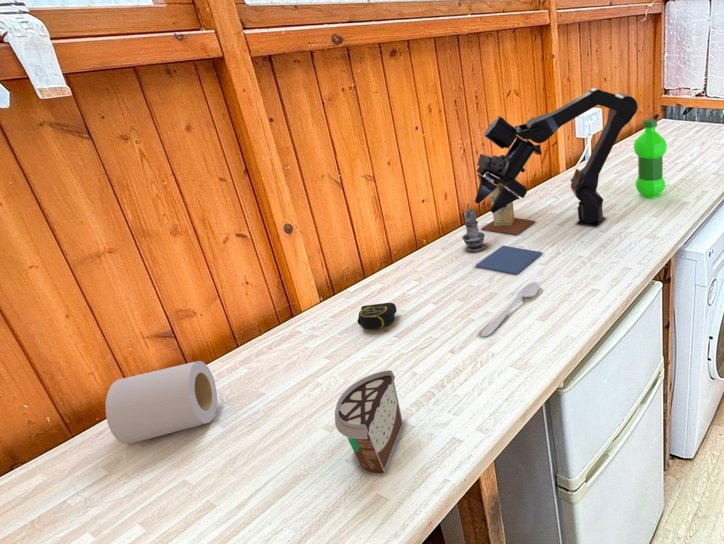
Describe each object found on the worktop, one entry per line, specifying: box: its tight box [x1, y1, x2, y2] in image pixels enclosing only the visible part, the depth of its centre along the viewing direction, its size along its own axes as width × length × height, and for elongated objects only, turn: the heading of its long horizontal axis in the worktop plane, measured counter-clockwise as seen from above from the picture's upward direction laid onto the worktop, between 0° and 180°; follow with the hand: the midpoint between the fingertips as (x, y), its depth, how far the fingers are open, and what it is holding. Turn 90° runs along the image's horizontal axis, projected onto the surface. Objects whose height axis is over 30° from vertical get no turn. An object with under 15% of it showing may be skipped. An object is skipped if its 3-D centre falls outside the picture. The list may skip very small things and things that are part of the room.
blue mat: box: [475, 245, 542, 276], centre depth 133 cm, size 12×12×1 cm
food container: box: [334, 369, 404, 474], centre depth 76 cm, size 12×6×10 cm, turn 5°
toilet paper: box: [105, 360, 218, 445], centre depth 82 cm, size 10×10×10 cm
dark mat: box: [481, 217, 536, 236], centre depth 154 cm, size 12×10×1 cm
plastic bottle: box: [633, 118, 668, 199], centre depth 169 cm, size 10×10×25 cm
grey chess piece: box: [461, 206, 486, 254], centre depth 138 cm, size 6×6×12 cm
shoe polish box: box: [489, 183, 516, 226], centre depth 153 cm, size 5×5×12 cm
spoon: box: [480, 281, 540, 338], centre depth 111 cm, size 4×21×2 cm, turn 157°
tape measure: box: [357, 302, 397, 331], centre depth 108 cm, size 7×7×4 cm
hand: (483, 207), depth 138 cm, fingers open, 9 cm apart
